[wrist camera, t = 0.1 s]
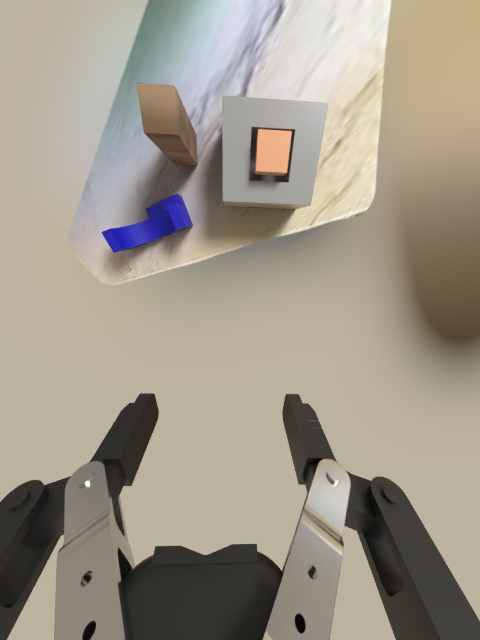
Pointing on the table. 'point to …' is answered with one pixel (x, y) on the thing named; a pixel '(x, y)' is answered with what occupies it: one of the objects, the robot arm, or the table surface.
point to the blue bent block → (151, 225)
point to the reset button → (272, 152)
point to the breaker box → (241, 151)
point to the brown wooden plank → (167, 122)
